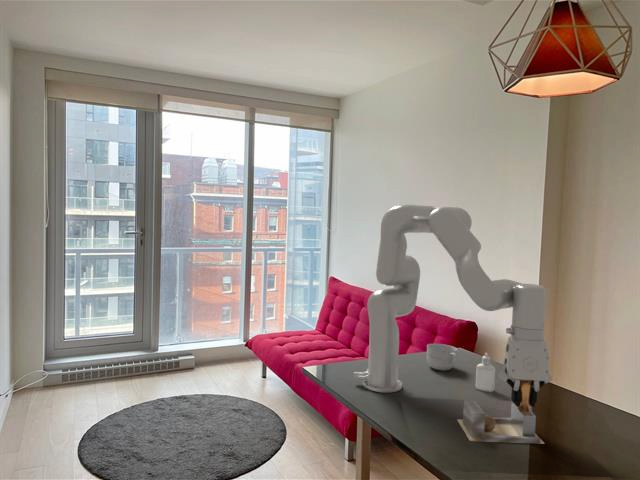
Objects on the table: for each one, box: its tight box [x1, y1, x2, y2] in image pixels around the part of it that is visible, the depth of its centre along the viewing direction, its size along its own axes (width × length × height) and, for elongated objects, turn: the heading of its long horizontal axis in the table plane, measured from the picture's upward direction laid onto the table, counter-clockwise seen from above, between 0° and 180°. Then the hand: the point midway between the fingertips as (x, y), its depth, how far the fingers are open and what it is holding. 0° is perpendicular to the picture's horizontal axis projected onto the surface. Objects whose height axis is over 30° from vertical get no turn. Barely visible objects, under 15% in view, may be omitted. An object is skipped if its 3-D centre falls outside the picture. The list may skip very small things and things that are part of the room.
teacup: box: [426, 343, 459, 371], centre depth 174 cm, size 14×11×8 cm
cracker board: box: [456, 400, 545, 445], centre depth 122 cm, size 18×12×8 cm, turn 89°
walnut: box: [484, 413, 496, 431], centre depth 123 cm, size 4×4×4 cm
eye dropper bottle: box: [475, 352, 496, 393], centre depth 155 cm, size 4×6×12 cm
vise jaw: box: [510, 380, 537, 437], centre depth 122 cm, size 3×8×14 cm, turn 179°
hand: (523, 404), depth 122 cm, fingers closed on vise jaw, 3 cm apart
